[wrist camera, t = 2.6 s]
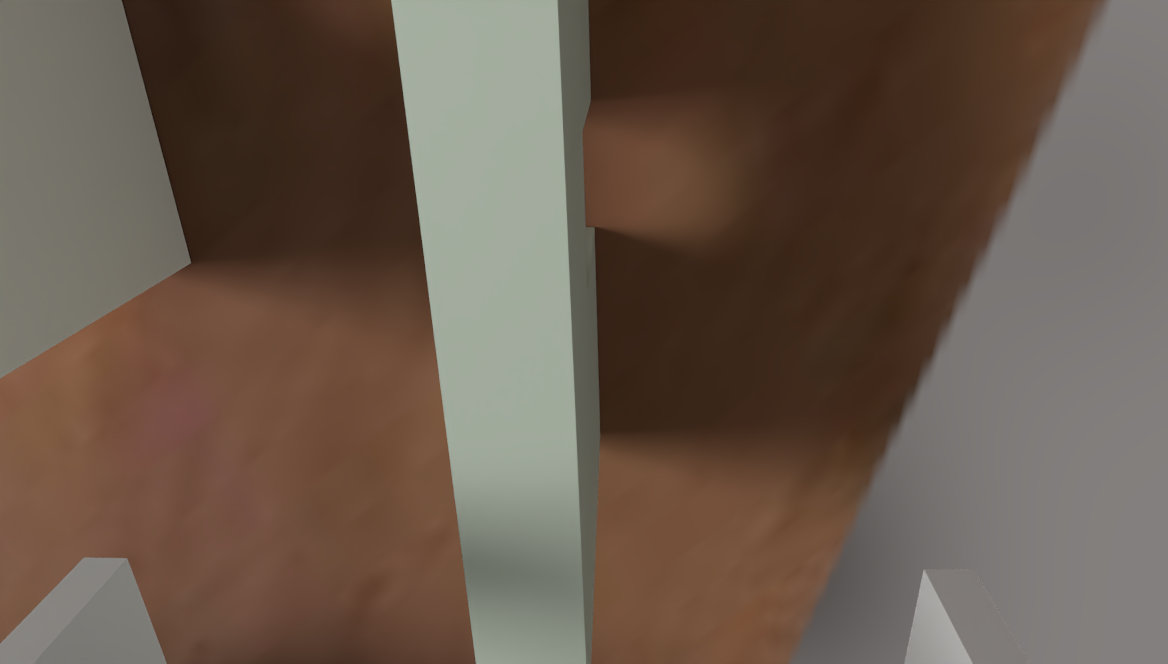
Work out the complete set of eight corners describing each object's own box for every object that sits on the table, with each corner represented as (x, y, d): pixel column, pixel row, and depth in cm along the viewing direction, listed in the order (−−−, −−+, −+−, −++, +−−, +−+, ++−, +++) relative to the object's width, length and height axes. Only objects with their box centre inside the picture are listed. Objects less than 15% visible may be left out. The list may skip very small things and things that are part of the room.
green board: (599, 434, 27) (588, 719, 16) (536, 434, 28) (483, 718, 17) (582, -216, 19) (536, -506, 8) (492, -211, 19) (329, -490, 8)
